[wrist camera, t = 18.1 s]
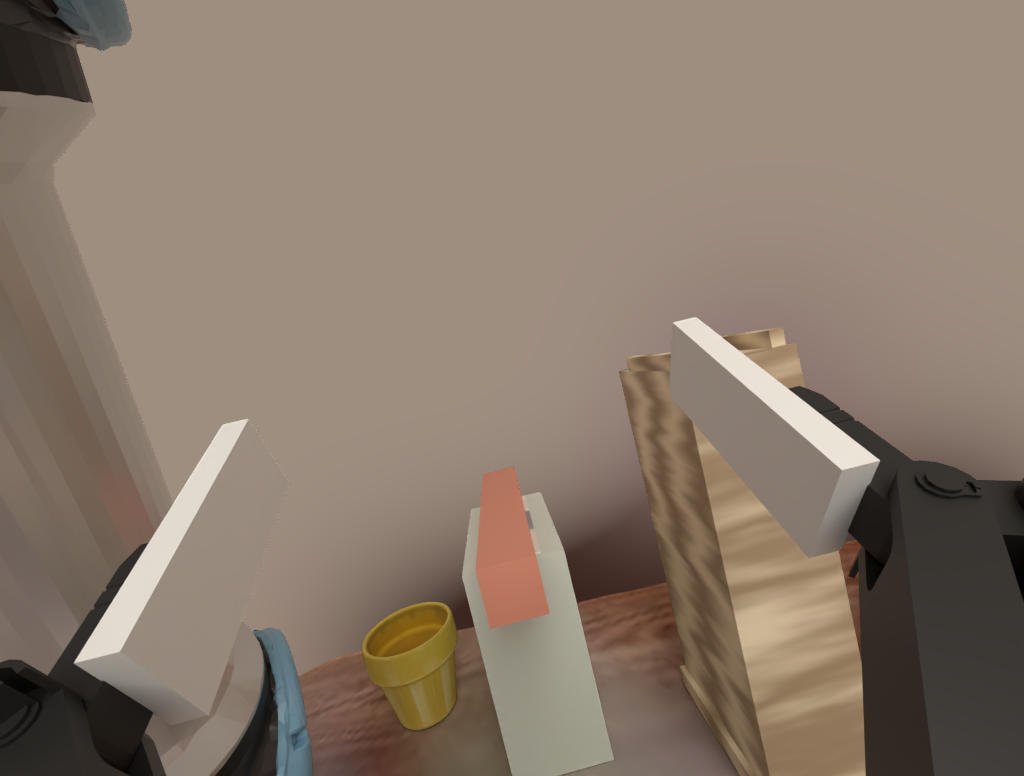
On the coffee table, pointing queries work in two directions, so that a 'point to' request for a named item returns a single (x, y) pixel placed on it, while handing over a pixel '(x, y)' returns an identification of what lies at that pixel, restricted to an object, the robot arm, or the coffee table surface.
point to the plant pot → (415, 662)
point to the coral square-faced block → (507, 554)
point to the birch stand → (748, 591)
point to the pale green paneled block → (541, 665)
